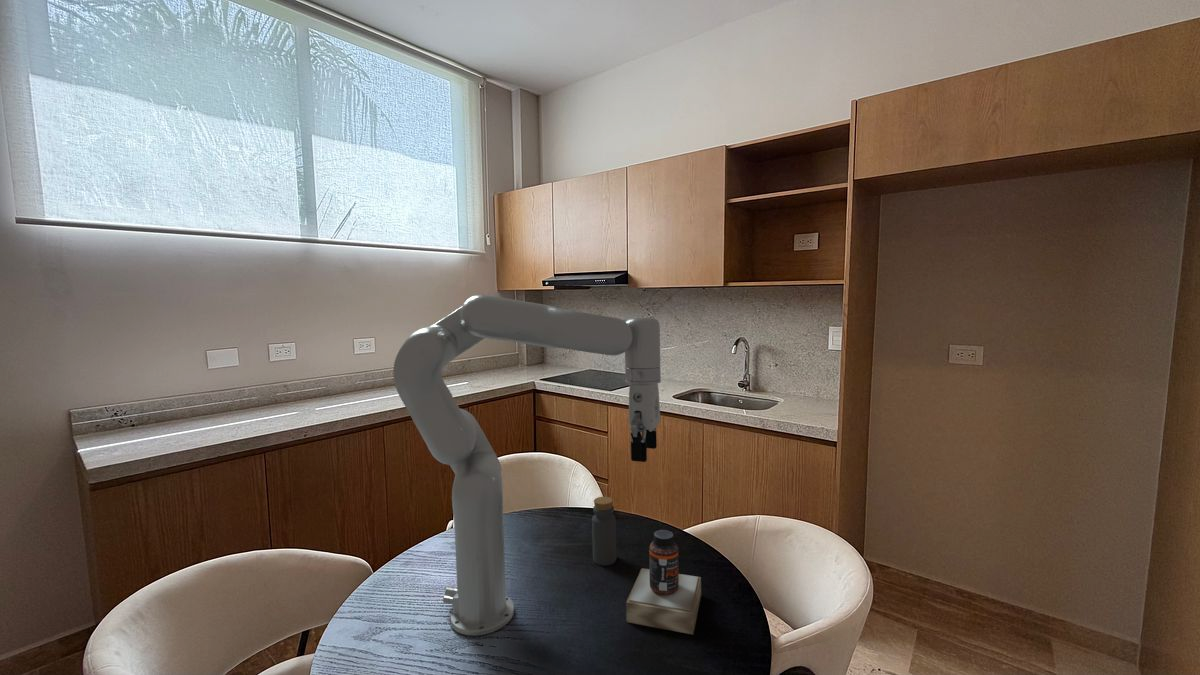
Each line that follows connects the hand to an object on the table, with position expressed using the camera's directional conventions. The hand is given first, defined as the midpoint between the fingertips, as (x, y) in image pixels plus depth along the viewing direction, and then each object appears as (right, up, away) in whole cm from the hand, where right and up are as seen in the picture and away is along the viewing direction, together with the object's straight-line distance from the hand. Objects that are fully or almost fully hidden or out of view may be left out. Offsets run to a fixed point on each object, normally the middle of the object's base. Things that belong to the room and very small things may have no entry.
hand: (644, 454), depth 103 cm
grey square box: (+4, -31, -5) cm, 31 cm away
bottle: (-8, -30, +15) cm, 35 cm away
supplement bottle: (+4, -26, -5) cm, 27 cm away
